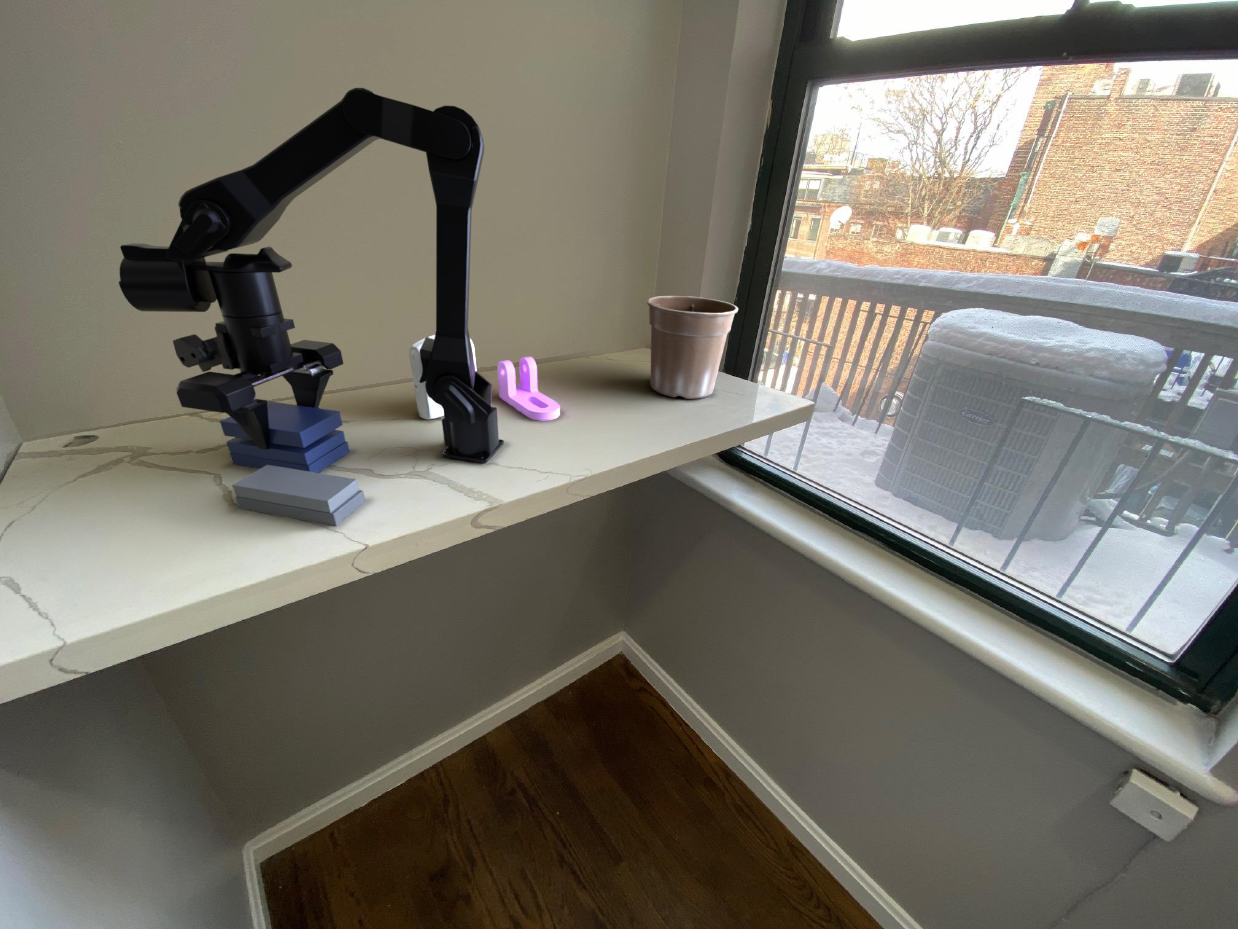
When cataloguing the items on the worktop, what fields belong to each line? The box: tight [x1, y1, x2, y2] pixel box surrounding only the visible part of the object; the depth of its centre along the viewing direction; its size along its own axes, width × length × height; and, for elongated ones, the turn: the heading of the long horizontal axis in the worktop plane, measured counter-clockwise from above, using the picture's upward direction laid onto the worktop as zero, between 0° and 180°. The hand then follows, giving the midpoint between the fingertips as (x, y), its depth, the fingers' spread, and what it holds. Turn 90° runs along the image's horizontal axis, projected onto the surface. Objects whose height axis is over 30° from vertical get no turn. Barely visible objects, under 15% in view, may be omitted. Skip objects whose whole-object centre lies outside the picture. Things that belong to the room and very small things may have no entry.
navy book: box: [219, 400, 344, 448], centre depth 64 cm, size 11×7×2 cm, turn 79°
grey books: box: [231, 465, 366, 526], centre depth 57 cm, size 12×5×3 cm, turn 79°
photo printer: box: [408, 334, 478, 420], centre depth 80 cm, size 10×4×12 cm, turn 140°
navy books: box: [226, 429, 351, 473], centre depth 66 cm, size 11×7×3 cm, turn 79°
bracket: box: [496, 356, 561, 422], centre depth 85 cm, size 13×6×7 cm, turn 38°
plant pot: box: [646, 295, 739, 400], centre depth 95 cm, size 16×16×16 cm
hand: (287, 436), depth 65 cm, fingers open, 7 cm apart
